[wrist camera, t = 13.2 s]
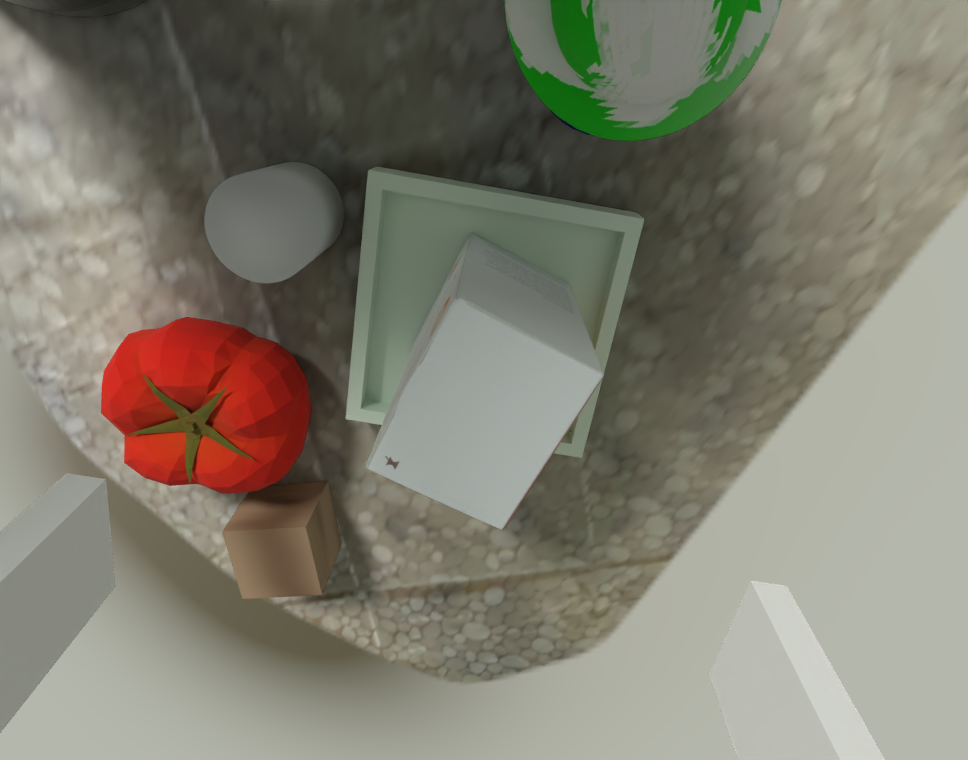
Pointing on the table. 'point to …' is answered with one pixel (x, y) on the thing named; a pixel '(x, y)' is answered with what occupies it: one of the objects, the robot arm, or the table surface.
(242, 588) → the walnut cube
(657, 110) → the toy
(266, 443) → the tomato
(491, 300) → the small box
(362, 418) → the tray
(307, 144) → the table surface
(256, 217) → the grey cylinder
